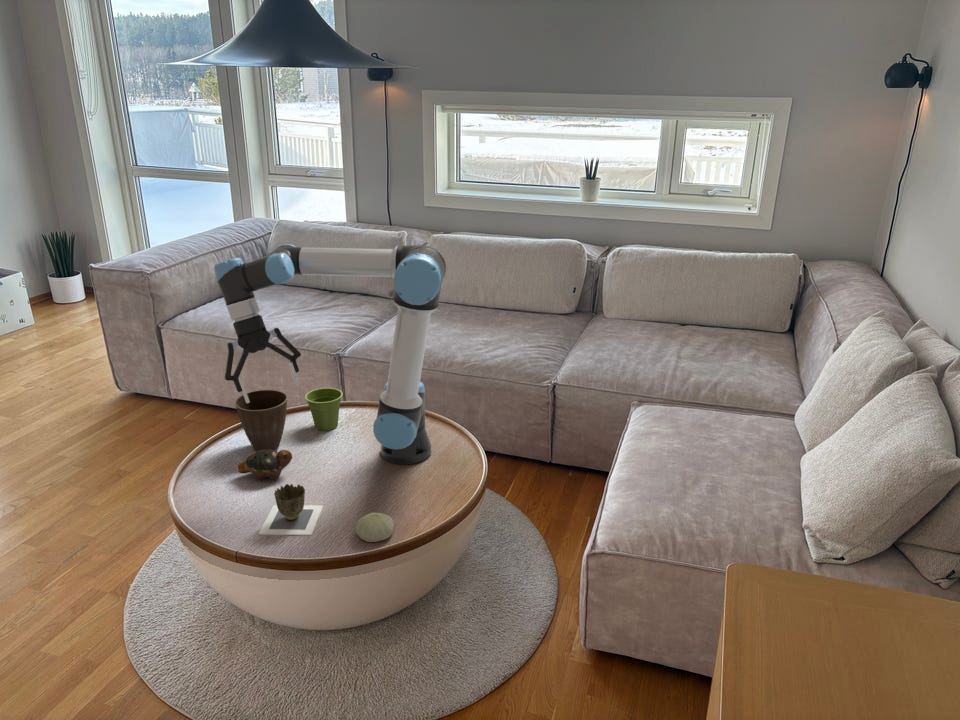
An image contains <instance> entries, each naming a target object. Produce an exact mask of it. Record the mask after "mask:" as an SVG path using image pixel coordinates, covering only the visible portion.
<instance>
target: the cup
mask: <svg viewBox="0 0 960 720" xmlns="http://www.w3.org/2000/svg"><path fill="white" fill-rule="evenodd" d="M305 493H306V489H305V487H304V486H303V485H300V484H297V485H296V486H294V485H293V484H292V483H290V484H289V483H286V484H285V485H284V486H283V485H281V486H280V488H276V490H274V499H275V502H276V505H277V507H278V510H279V512H280V513H281V514H282V515H284V517H285V519H286V520H287V521H295V520H297V519H298V518H299V513H300V512H301V511H302V510H303V507H304V505H305Z"/></svg>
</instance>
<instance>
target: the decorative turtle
mask: <svg viewBox="0 0 960 720" xmlns="http://www.w3.org/2000/svg"><path fill="white" fill-rule="evenodd" d="M292 459H293V453H292V452H291V451H290V450H287V449H281V450H279V451H276V450H269V449H265V450H259V451H253V452H252V453H250V454H249V455H248V456H247V457H246V458H245V460H244V461H242V462H240V463H238V464H237V470H238V472H239V474H248V473H249V474H250V473H251V474H252V475H253V476H254V477H255V479H256V481H258V482H261V481H264V480H265V478H266V477H268V478H270V479H272V480H273V481H278V479H279V478H280V475H281V473H282V471H283V470H284V469H285V468H286V467H287V466H288V465H289V464H290V463H291V461H292Z"/></svg>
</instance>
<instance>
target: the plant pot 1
mask: <svg viewBox="0 0 960 720" xmlns="http://www.w3.org/2000/svg"><path fill="white" fill-rule="evenodd" d="M246 393H247V396H248V398H249V401H250V403H246V401H245V398H244V396H243V394H242V395H240V396H239V397H237V398H236V400H235V402H234V403H235V404H234V405H235V408H236V411H237V415H238V418H239V421H240V424H241V426H242V428H243V431H244V433H245V436H246V437H247V439H248V441H249V443H250V445H251V447H252V448H253V450H254V452H256V451H259V450H265V449H269V450H274V451H276V450H277V449H278V448H279V447H280V445H281V442H282V437H283V434H284V433H283V432H284V429H285V425H286V419H287V409H288V395H287V394H285V392H283V391H280V390H275V389H261V390H260V389H259V390H256V391H255V390H254V391H250V392H246Z"/></svg>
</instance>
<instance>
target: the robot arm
mask: <svg viewBox="0 0 960 720" xmlns="http://www.w3.org/2000/svg"><path fill="white" fill-rule="evenodd" d="M446 264H447V263H446V260H445V258H444V257H443V255H442V253H441V252H440V251H439V250H438V249H436V248H435V247H433V246H429V245H423V244H422V245H421V244H420V245H419V244H418V245H417V244H416V245H415V244H414V245H396V246H395V247H393V248H359V247H358V248H357V247H355V248H353V247H351V248H349V247H346V248H345V247H305V246H304V247H299V246H296V245H294V244H289V243H286V244H282V245H279V246H277V247H276V248H275V249H274V250H272V251H271V252H269V253H267V254H266V255H265V256H263V257H260V258H258V259H255V260H252V261H249V262H245V263H244V261H243V259H242V258H240V257H234V258H231V259H228V260H223V261H221V262H217V263H216V264H215V265H214V266H213V270H214V274H215V276H216V277H215V278H216V283H217V284H218V287H219V289H220V292H221V295H222V297H223V299H224V302H225V306H226V308H227V311H228V313H229V314H228V315H229V316H230V320H231V321H234V322H233V324H232V327H233V328H234V331H235V334H236V336H237V337H236V338H237V341H233V342H227V343H226V347H227V351H228V352H227V360H226V366H225V374H224V379H225V381H233V384H234V385H235V388H236V391H237V392H238V393H241V392H242V395H243V396H244V398H245V401H246V403H250V401H249V398H248V396H247V393H248V392H247V390H246V388H245V385H244V381H243V379H242V378H240V375H241V372H242V370H243V368H244V365H245V362H246V361H247V358H248V356H249V354H255V353H257V352H260V351H263V350H265V349H267V348H268V349H269V350H271V351H273V352H275V353H277V354H279V355H280V356H282V357H283V358H285V359H287V360H289V362H287V364H288V368H289V371H290V374H291V376H292V379H293V383H294V385H295V386H300V382H299V381H300V380H299V378H298V375H297V373H299V371H300V369H299V366H298V363H297V359H298V358H301V357H302V356H301V355H302V354H301V351H299V350H298V349H297V348H296V347H295V346H294V345H293V344H292V342H290V341H289V340H288V339H287V338H286V337H285V336H283V334H282V333H281V330H280V329H279V327H274V328H273V329H272V330H269V331H268V330H267V328H266V324H265V321H264V319H263V316H262V315H261V314H259V313H260V312H261V310H260V308H259V305H258V302H257V299H256V296H255V293H254V292H256V291H257V292H258V291H259V290H263V289H266V288H270V287H273V286H277V285H282V284H284V283H286V282H289V281H292V280H293V279H294V277H295V275H296V276H297V275H298V276H302V275H303V276H334V277H335V276H338V277H339V276H342V277H375V278H376V277H377V278H380V277H382V278H393V285H394V293H393V294H394V295H393V300H392V301H393V304H394V305H395V306H396V307H397V315H396V320H395V322H396V323H395V329H394V335H393V343H392V351H391V357H390V362H389V370H388V377H387V382H386V383H385V384H384V386H383V387H384V389H383V391H382V392H380V395H379V401H378V408H377V415H376V419H375V420H374V422H373V426H372V427H373V431H372V432H373V436H374V437H375V439H376V441H378V443H379V444H380V445H381V446H380V455H381V457H382V458H383V460H386V461H387V462H388V463H393V464H398V465H412V464H417V463H420V462H423V461H425V460H427V459H428V458H429V457H430V456H431V455H432V443H431V439H430V437H429V435H428V433H427V430H426V408H425V407H426V405H425V404H426V403H425V402H426V401H425V393H426V391H425V385H424V383H423V382H422V381H421V377H422V370H423V365H424V364H423V363H424V359H425V358H424V357H425V352H426V346H427V340H428V334H429V328H430V320H431V315H432V313H433V312H434V311H436V310H438V308H439V301H440V298H441V297H440V296H441V291H442V290H441V289H442V284H443V281H444V278H445V277H446V272H447V265H446ZM271 336H272V337H274V338H277V339H278V340H279V341H280V342H281V343H282V344H283V345H284V346H285V347H286V348H287V349H288V350H289V351H290V352H291V353H292V354H293V355H292V354H290V353H288V352H286V351H284V350H283V349H281V348H279V347H278V346H277V345H275V344H273V343H271V342H269V341H270V337H271ZM238 346H239V347H240V348H241V349H243V350H242V352H241V355H240V358H239V361H238V363H237V365H236V368H235V369H234V373H233V375H232V369H233V362H234V357H235V356H234V355H235V351H236V350H237V347H238ZM430 454H431V455H430ZM429 455H430V456H429ZM428 456H429V457H428ZM426 458H427V459H426Z"/></svg>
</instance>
